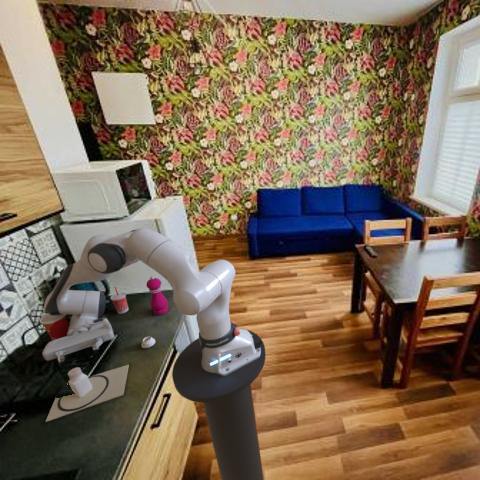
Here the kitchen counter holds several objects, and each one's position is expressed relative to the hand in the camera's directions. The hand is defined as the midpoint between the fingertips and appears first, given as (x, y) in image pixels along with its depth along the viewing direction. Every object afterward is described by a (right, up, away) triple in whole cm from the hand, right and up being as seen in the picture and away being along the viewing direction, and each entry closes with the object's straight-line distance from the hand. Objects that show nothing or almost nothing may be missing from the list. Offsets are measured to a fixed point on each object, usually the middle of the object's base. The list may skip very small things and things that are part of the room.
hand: (78, 354), depth 96 cm
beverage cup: (-12, +6, +37) cm, 39 cm away
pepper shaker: (+6, -11, -5) cm, 13 cm away
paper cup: (-22, -3, +18) cm, 28 cm away
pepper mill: (+8, +5, +37) cm, 38 cm away
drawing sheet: (+8, -11, -4) cm, 14 cm away
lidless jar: (+15, -3, +16) cm, 22 cm away
